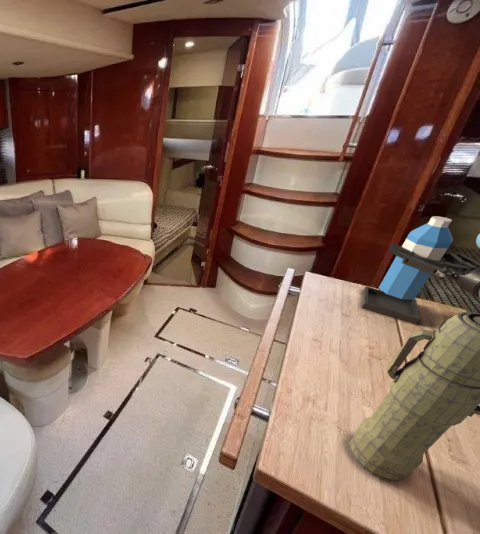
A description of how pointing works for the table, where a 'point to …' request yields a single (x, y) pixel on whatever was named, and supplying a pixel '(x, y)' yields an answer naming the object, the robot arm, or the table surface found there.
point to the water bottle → (422, 244)
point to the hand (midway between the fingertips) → (406, 246)
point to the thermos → (422, 399)
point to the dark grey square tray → (390, 305)
